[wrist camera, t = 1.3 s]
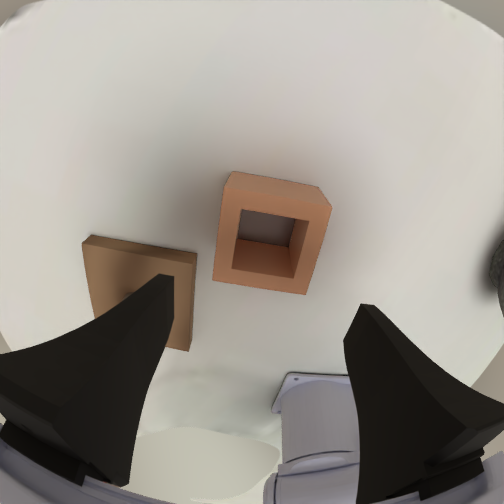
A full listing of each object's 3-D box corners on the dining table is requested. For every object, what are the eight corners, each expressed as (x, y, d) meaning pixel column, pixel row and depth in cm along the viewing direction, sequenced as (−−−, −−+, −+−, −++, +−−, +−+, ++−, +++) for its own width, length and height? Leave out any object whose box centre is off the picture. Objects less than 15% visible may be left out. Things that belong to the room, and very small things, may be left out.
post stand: (197, 253, 20) (177, 299, 15) (191, 339, 24) (178, 387, 19) (91, 235, 20) (52, 270, 15) (103, 318, 24) (79, 359, 19)
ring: (318, 187, 18) (332, 207, 14) (298, 261, 20) (305, 294, 17) (232, 171, 17) (223, 186, 14) (221, 249, 20) (212, 280, 16)
